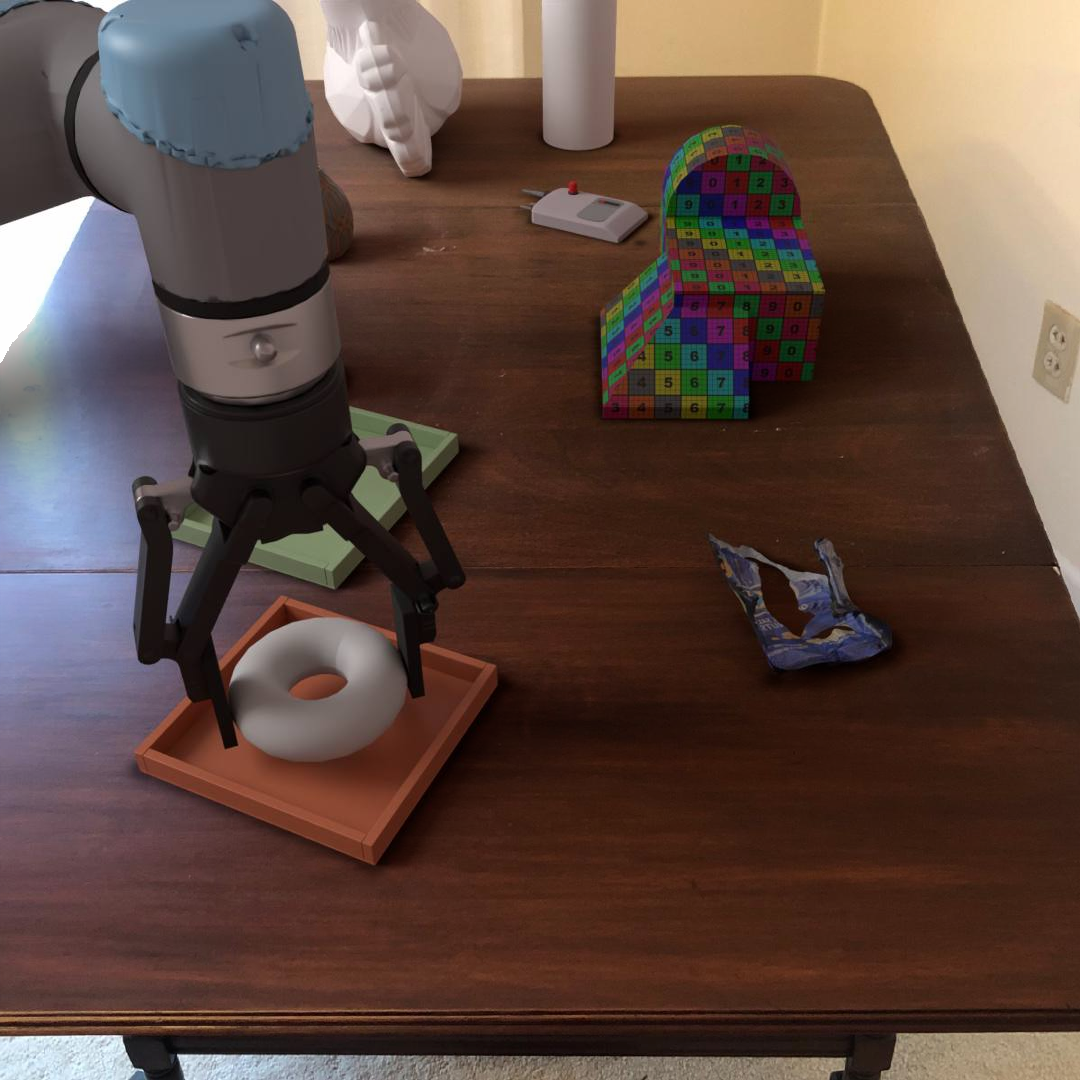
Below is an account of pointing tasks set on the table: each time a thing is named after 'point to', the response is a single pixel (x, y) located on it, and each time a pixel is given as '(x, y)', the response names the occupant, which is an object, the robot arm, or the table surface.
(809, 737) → the table surface
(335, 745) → the donut
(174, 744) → the terracotta tray
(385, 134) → the decorative rooster
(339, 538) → the green tray
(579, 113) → the bottle
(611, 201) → the electronic tester device
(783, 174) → the block
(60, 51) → the robot arm
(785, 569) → the snack package
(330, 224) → the vase
